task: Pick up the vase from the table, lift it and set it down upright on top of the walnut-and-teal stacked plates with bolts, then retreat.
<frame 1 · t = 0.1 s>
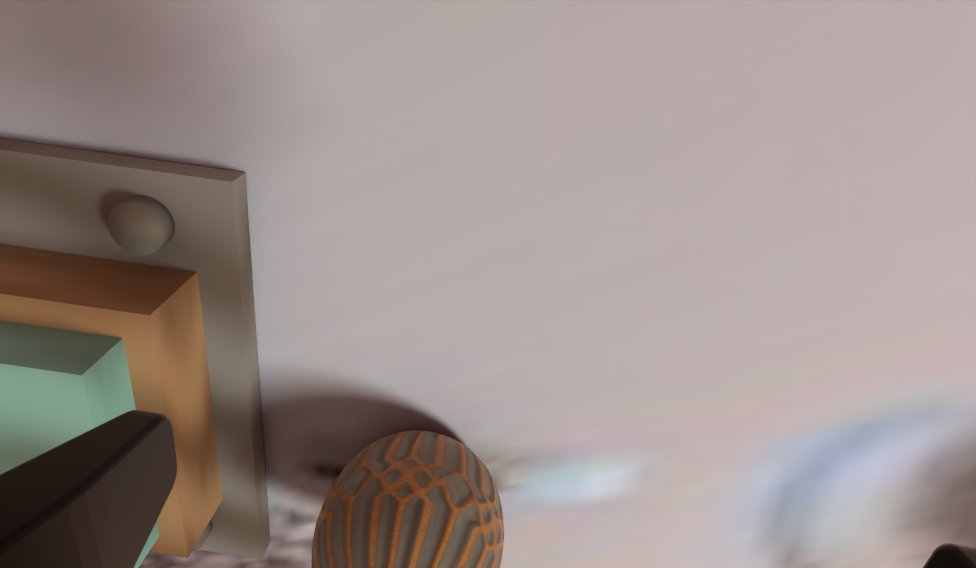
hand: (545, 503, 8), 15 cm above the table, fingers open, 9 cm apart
stacked plates with bolts: (89, 362, 26), on the table
vase: (427, 464, 27), on the table
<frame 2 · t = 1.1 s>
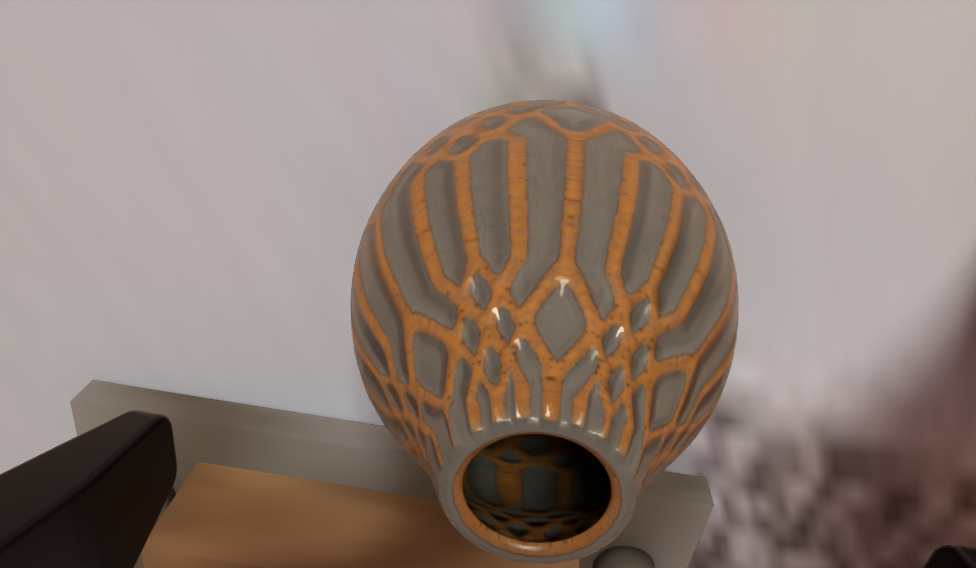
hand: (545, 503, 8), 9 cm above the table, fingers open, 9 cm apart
vase: (541, 218, 16), on the table
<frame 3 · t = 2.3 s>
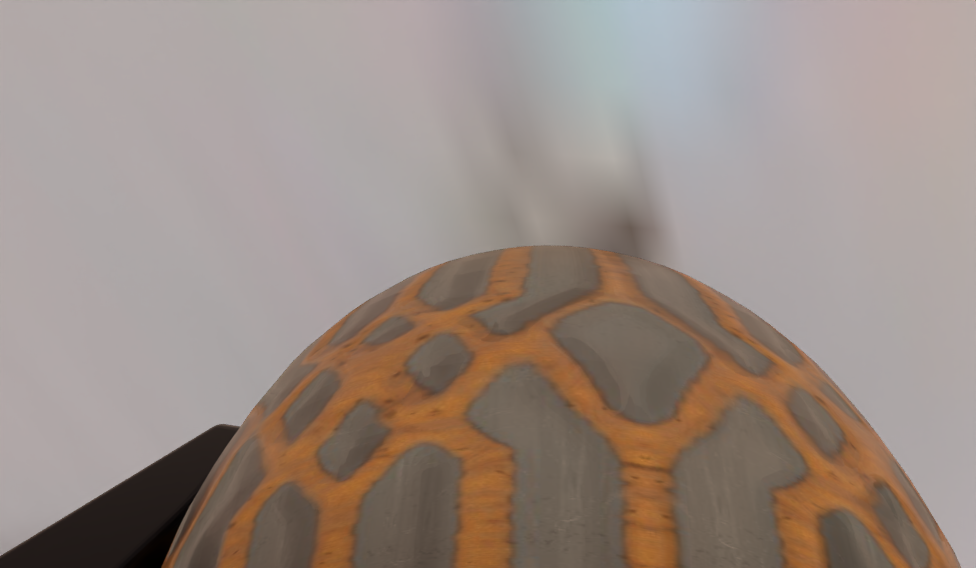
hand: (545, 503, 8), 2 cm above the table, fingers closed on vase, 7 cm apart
vase: (548, 388, 10), on the table, touching gripper
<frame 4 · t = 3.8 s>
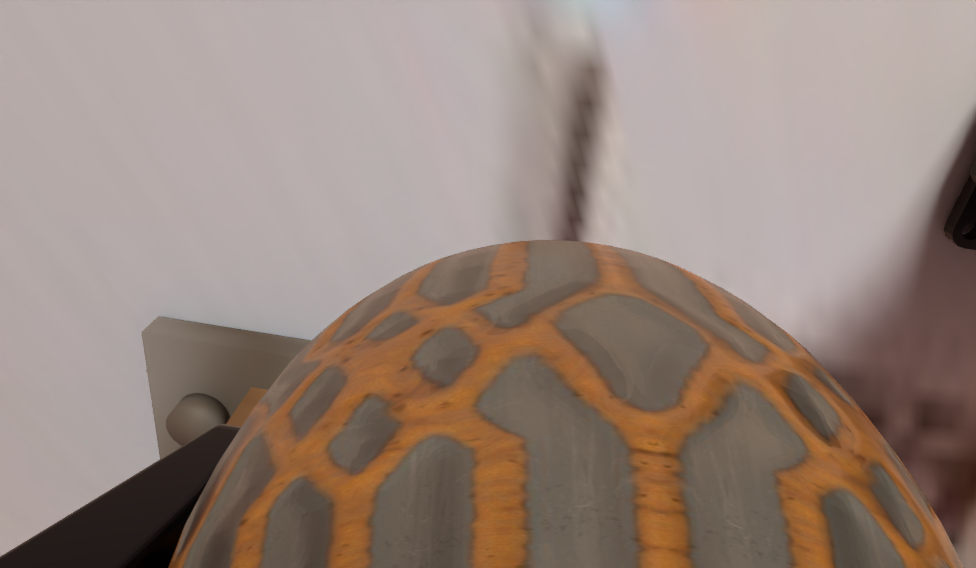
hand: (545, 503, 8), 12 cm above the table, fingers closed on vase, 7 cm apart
stacked plates with bolts: (410, 509, 25), on the table
vase: (541, 382, 10), point 10 cm above the table, touching gripper
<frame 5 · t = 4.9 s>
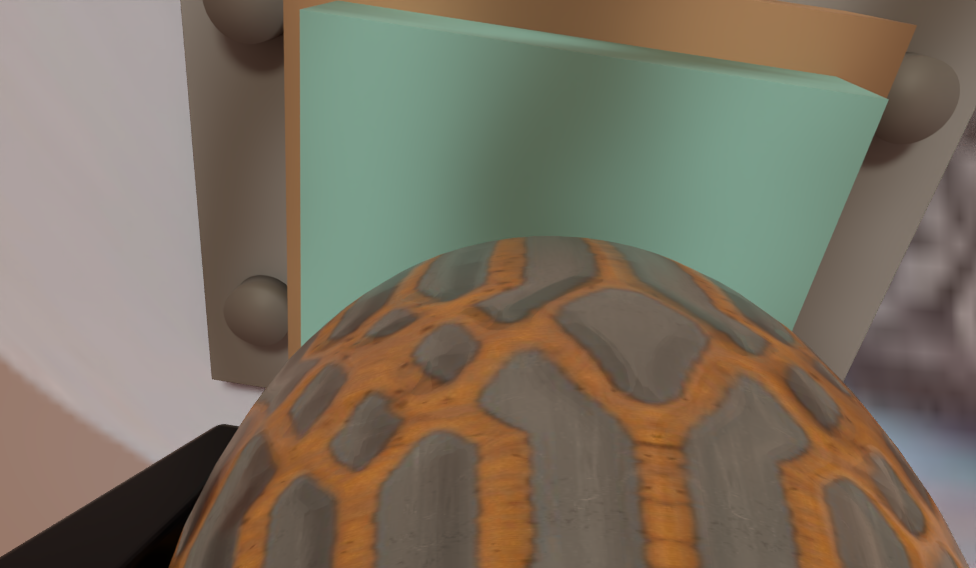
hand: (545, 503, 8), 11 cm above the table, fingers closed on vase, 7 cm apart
stacked plates with bolts: (543, 198, 17), on the table
vase: (538, 379, 10), point 8 cm above the table, touching gripper
when the fingers open (10 cm above the table, at t = 5.5 s): vase drops 1 cm, resting on stacked plates with bolts.
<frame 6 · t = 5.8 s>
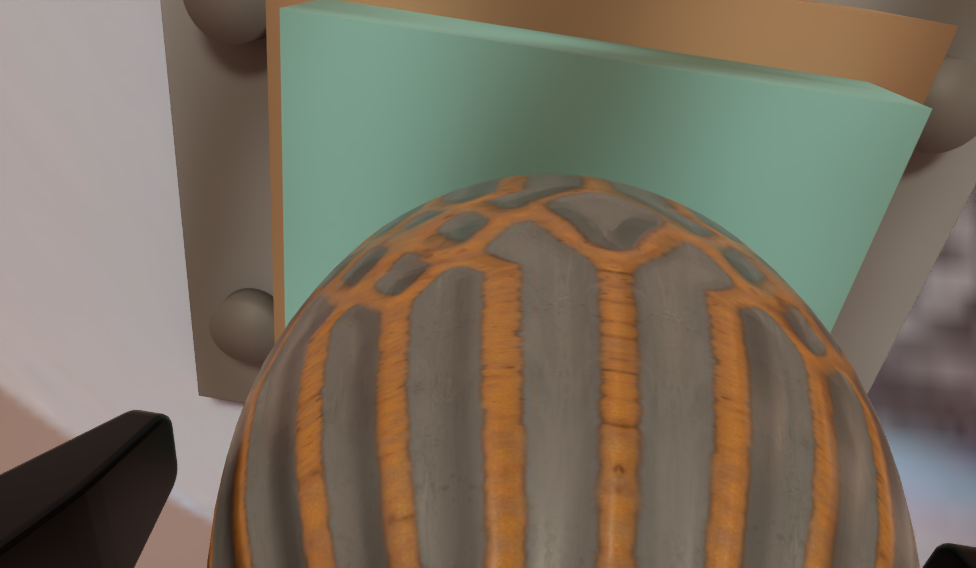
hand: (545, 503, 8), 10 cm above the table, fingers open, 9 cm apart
stacked plates with bolts: (547, 207, 16), on the table
vase: (545, 326, 11), point 6 cm above the table, touching stacked plates with bolts
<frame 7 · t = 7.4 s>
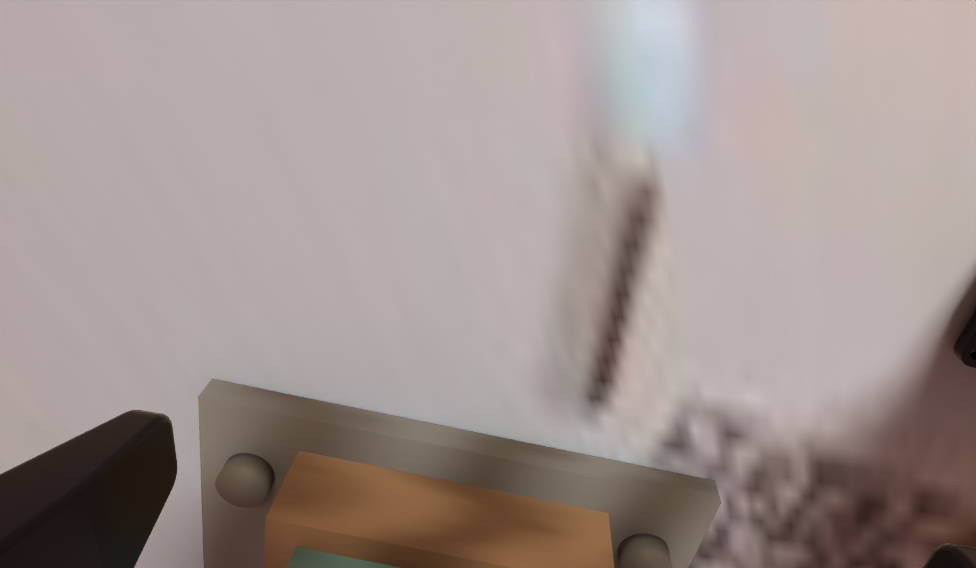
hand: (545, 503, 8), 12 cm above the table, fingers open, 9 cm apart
stacked plates with bolts: (435, 562, 26), on the table
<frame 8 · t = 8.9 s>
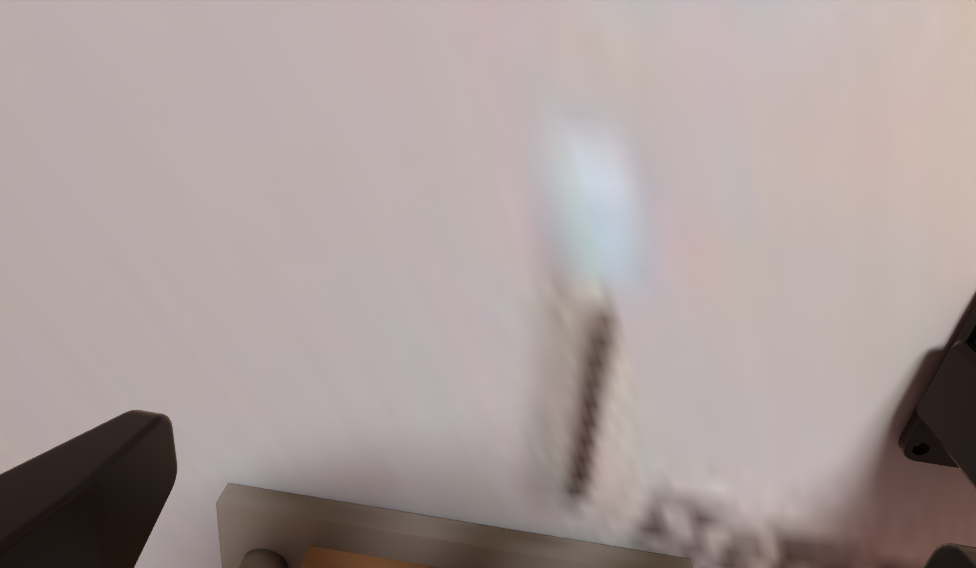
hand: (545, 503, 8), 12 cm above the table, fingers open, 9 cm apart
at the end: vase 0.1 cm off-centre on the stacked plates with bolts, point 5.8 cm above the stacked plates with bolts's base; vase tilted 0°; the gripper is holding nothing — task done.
